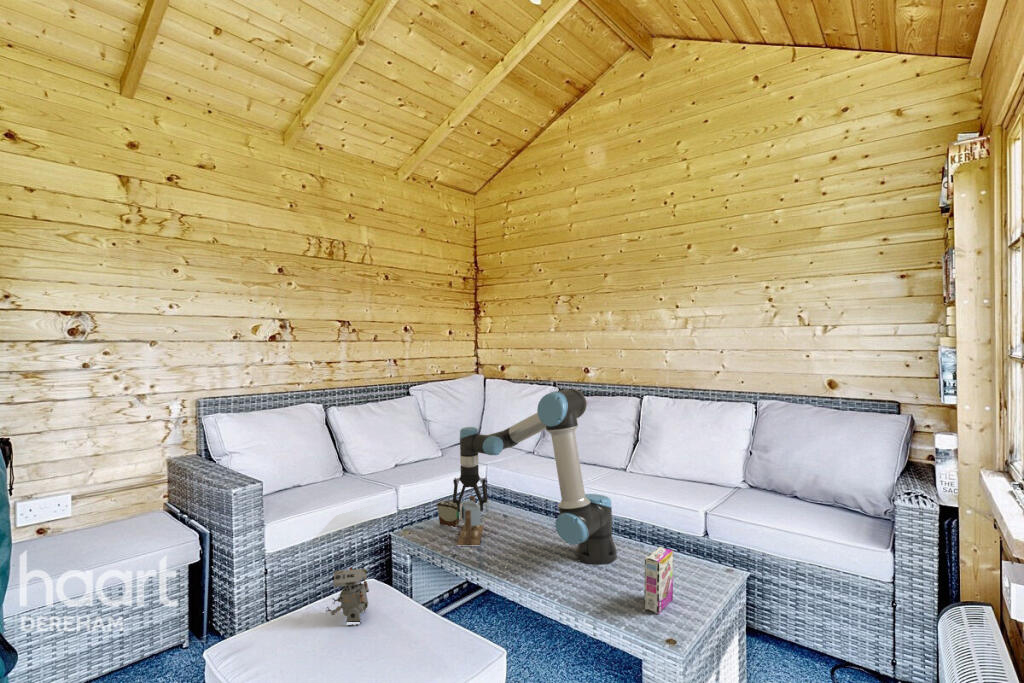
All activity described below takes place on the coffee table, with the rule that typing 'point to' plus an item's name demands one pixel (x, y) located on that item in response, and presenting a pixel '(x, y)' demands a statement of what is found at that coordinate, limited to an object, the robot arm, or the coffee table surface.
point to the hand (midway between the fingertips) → (470, 518)
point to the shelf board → (472, 512)
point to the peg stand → (470, 530)
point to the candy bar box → (658, 580)
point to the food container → (448, 513)
